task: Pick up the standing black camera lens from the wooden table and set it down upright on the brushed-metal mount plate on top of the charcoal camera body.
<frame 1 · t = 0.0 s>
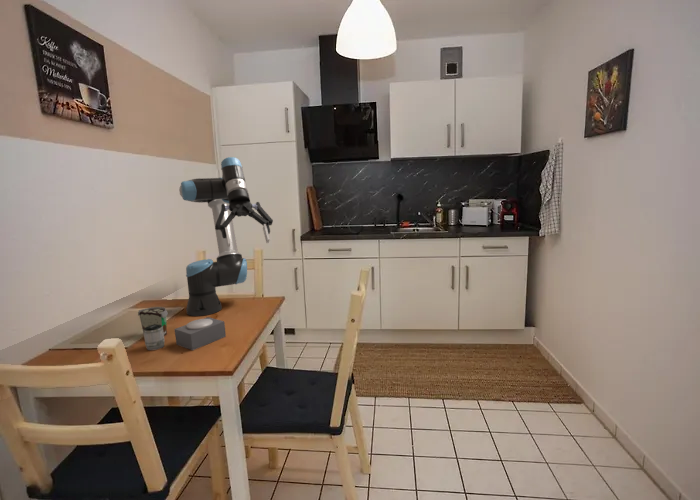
hand: (249, 243, 133), 36 cm above the table, tool tilted 35°, fingers open, 13 cm apart
camera body: (201, 340, 140), on the table
camera lens: (155, 347, 136), on the table
food container: (159, 333, 149), on the table
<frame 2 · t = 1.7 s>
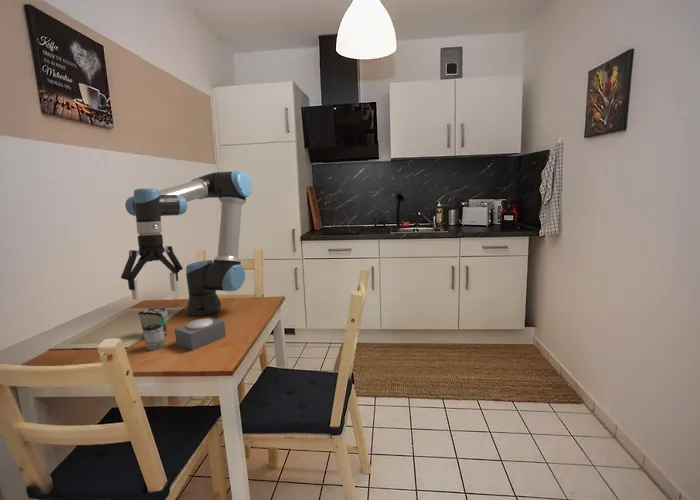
hand: (155, 294, 132), 20 cm above the table, tool pointing down, fingers open, 13 cm apart
nothing on the table moved.
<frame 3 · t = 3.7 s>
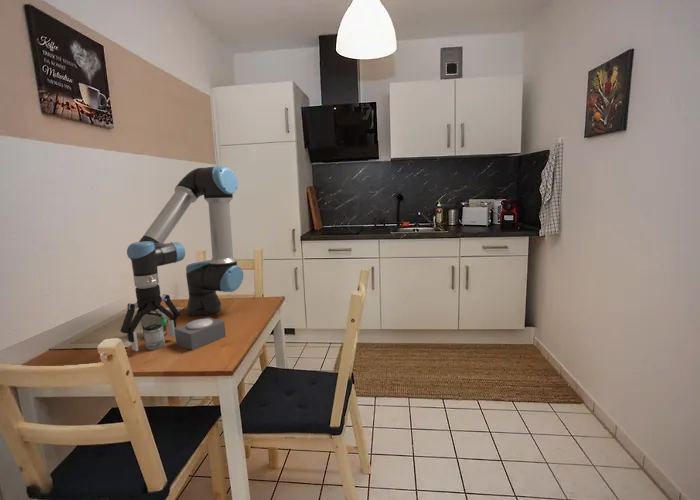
hand: (154, 343, 136), 2 cm above the table, tool pointing down, fingers open, 13 cm apart
nothing on the table moved.
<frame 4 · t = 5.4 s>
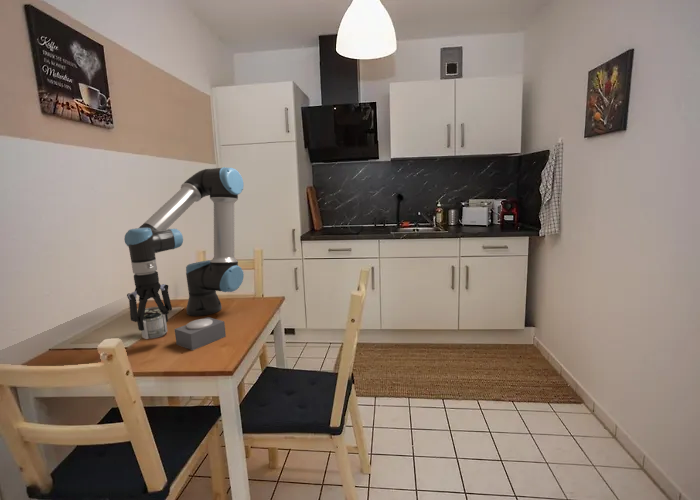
hand: (155, 334, 136), 5 cm above the table, tool pointing down, fingers closed on camera lens, 6 cm apart
camera lens: (155, 335, 136), point 4 cm above the table, touching gripper
everything else where it was.
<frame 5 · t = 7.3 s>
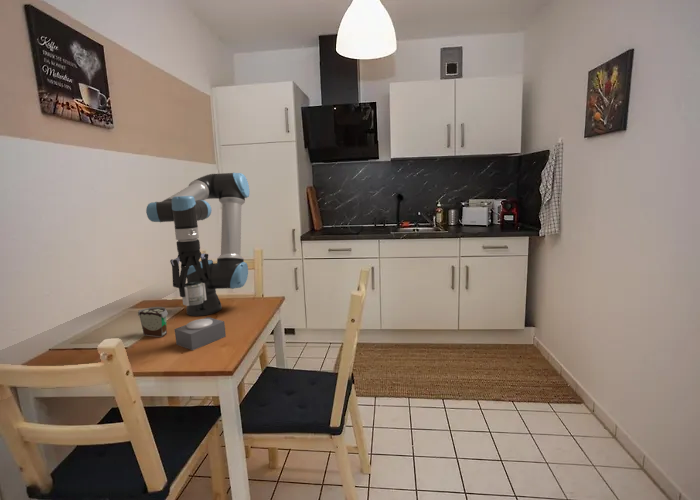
hand: (195, 302, 138), 15 cm above the table, tool pointing down, fingers closed on camera lens, 6 cm apart
camera lens: (195, 303, 138), point 14 cm above the table, touching gripper
everything else where it was.
when the fingers open (8 cm above the table, at t = 9.4 s): camera lens stays where it is, resting on camera body.
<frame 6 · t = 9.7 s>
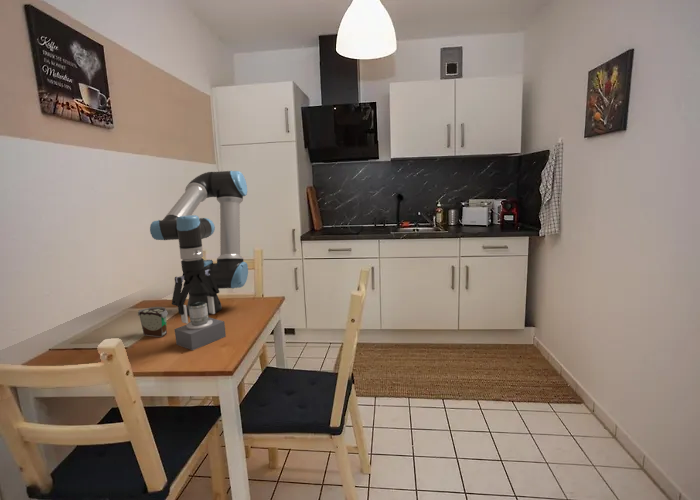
hand: (199, 317, 139), 9 cm above the table, tool pointing down, fingers open, 10 cm apart
camera lens: (199, 323, 139), point 7 cm above the table, touching camera body
everything else where it was.
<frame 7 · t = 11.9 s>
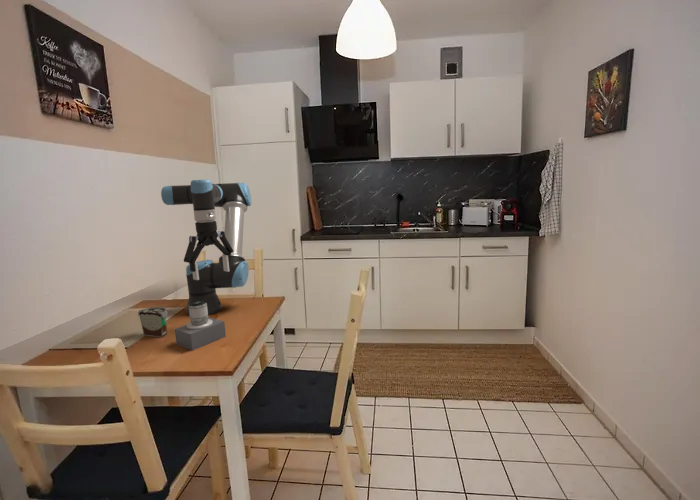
hand: (212, 275, 147), 22 cm above the table, tool pointing down, fingers open, 13 cm apart
nothing on the table moved.
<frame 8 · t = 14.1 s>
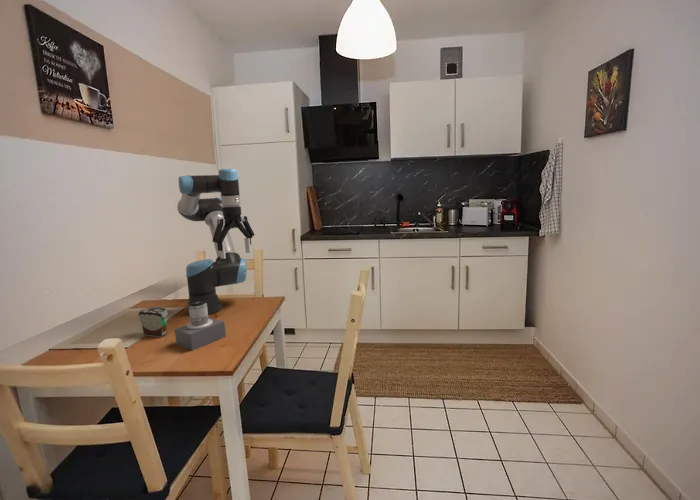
hand: (236, 255, 163), 27 cm above the table, tool pointing down, fingers open, 13 cm apart
nothing on the table moved.
at the end: camera lens 0.0 cm off-centre on the camera body, point 6.6 cm above the camera body's base; camera lens tilted 0°; the gripper is holding nothing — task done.
